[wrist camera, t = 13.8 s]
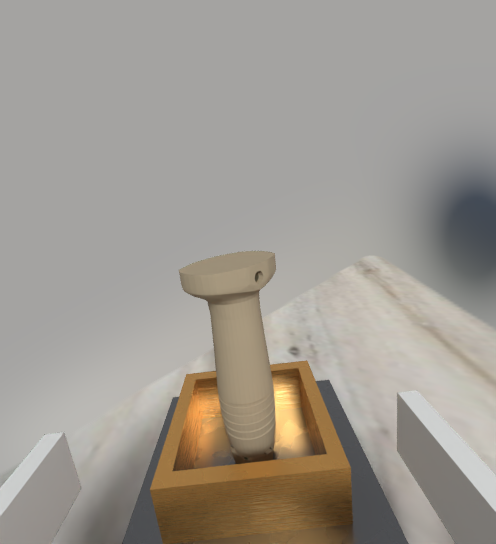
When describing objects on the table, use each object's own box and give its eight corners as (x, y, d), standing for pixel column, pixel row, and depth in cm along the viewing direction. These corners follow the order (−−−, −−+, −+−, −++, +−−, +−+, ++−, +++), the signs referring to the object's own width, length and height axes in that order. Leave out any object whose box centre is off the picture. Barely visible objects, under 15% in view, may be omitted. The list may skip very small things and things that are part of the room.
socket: (104, 620, 15) (80, 546, 14) (174, 406, 30) (166, 362, 29) (421, 586, 15) (424, 508, 14) (329, 388, 30) (326, 344, 29)
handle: (201, 468, 22) (164, 271, 18) (257, 416, 26) (236, 250, 23) (250, 508, 18) (216, 278, 15) (305, 441, 23) (289, 252, 19)
